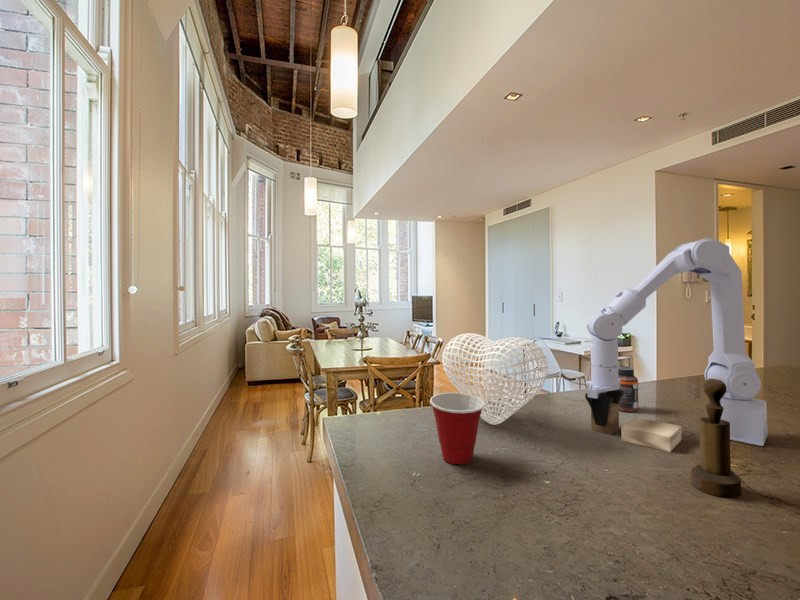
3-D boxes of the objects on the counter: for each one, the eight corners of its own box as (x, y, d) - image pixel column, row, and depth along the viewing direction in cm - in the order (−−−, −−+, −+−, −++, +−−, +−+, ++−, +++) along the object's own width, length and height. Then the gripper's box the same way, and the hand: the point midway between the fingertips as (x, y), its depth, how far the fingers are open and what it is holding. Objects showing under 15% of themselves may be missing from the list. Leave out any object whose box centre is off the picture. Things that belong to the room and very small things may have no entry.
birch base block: (681, 439, 85) (681, 426, 85) (670, 452, 79) (669, 437, 79) (635, 429, 92) (635, 417, 92) (621, 440, 86) (621, 426, 86)
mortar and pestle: (692, 474, 70) (691, 373, 69) (740, 485, 65) (740, 377, 65) (689, 490, 64) (688, 380, 64) (742, 502, 60) (741, 385, 60)
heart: (562, 431, 92) (560, 336, 92) (523, 449, 82) (521, 343, 82) (470, 406, 114) (469, 329, 113) (431, 417, 104) (429, 334, 104)
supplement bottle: (643, 412, 105) (642, 370, 104) (620, 413, 105) (620, 370, 105) (630, 406, 111) (630, 366, 110) (609, 406, 111) (608, 366, 110)
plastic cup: (451, 476, 71) (449, 410, 71) (420, 455, 80) (419, 396, 80) (498, 463, 76) (496, 401, 76) (464, 444, 85) (463, 389, 85)
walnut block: (618, 429, 93) (618, 404, 92) (611, 434, 90) (611, 408, 89) (598, 425, 96) (598, 400, 96) (591, 429, 93) (591, 404, 93)
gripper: (598, 359, 100) (599, 412, 101) (573, 367, 90) (574, 426, 91) (629, 362, 95) (630, 418, 95) (606, 371, 85) (607, 433, 86)
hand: (605, 422), depth 93 cm, fingers closed on walnut block, 4 cm apart
